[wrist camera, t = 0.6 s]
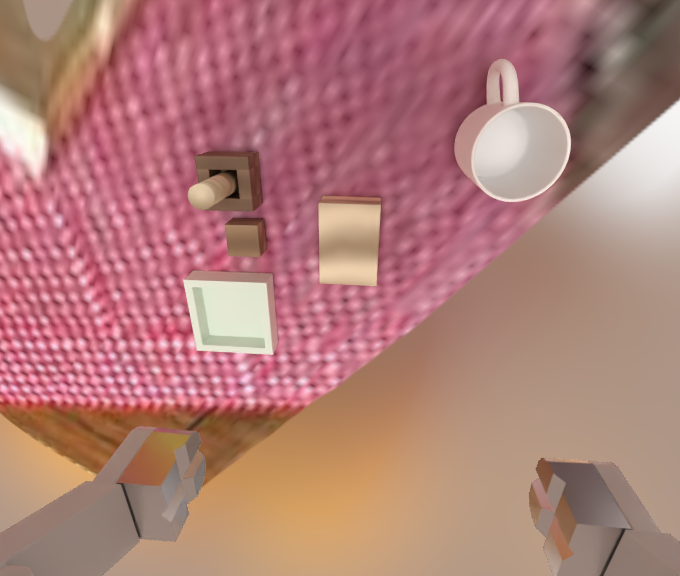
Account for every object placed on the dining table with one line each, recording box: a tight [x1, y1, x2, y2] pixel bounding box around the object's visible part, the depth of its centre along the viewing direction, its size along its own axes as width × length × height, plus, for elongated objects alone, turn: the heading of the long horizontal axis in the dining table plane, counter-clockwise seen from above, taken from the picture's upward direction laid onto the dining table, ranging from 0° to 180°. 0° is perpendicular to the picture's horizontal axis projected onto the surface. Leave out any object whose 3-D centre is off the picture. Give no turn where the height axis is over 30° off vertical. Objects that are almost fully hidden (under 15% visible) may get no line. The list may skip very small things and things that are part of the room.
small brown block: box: [225, 218, 267, 257], centre depth 49 cm, size 4×4×3 cm
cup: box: [454, 59, 571, 202], centre depth 38 cm, size 8×12×10 cm
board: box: [319, 196, 381, 286], centre depth 48 cm, size 10×7×4 cm
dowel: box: [188, 170, 239, 210], centre depth 43 cm, size 2×2×10 cm
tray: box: [183, 270, 278, 355], centre depth 54 cm, size 11×11×3 cm
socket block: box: [194, 152, 263, 211], centre depth 46 cm, size 6×6×4 cm
